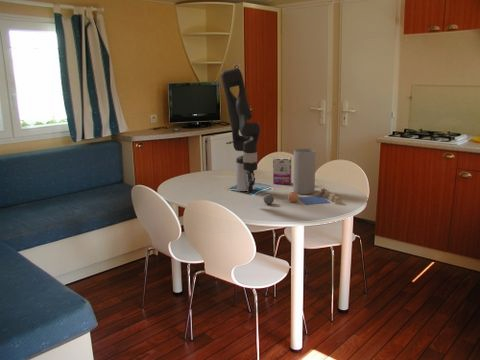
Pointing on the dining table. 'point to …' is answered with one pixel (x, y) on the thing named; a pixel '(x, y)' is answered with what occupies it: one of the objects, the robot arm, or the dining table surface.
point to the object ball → (293, 197)
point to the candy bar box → (282, 171)
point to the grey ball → (268, 199)
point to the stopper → (330, 196)
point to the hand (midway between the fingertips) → (250, 192)
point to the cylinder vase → (304, 171)
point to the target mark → (313, 200)
